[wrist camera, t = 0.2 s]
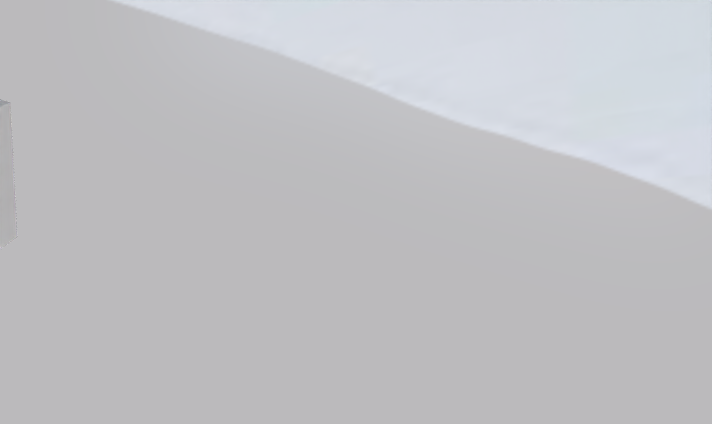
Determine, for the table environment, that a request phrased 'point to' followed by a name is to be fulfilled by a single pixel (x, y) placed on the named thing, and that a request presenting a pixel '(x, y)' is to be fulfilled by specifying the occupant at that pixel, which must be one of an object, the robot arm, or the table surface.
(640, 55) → the table surface
